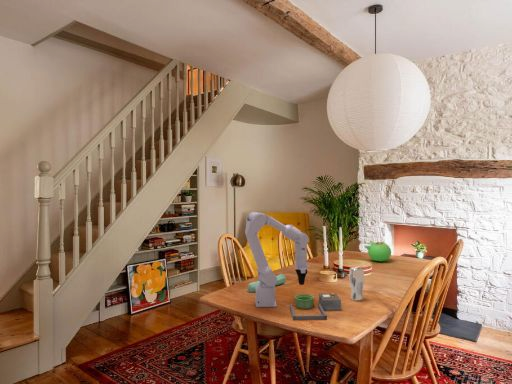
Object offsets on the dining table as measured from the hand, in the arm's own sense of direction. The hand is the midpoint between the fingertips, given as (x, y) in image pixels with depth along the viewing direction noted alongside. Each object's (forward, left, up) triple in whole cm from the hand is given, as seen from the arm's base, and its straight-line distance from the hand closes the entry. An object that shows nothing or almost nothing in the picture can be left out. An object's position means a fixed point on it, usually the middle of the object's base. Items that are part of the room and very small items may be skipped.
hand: (301, 284), depth 166 cm
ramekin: (0, -10, -8) cm, 12 cm away
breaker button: (+10, -10, -5) cm, 15 cm away
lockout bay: (0, -19, -7) cm, 20 cm away
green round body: (+68, +83, -8) cm, 108 cm away
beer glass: (+27, -1, -8) cm, 28 cm away
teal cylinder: (-17, +21, -8) cm, 28 cm away
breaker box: (+11, -11, -7) cm, 17 cm away
